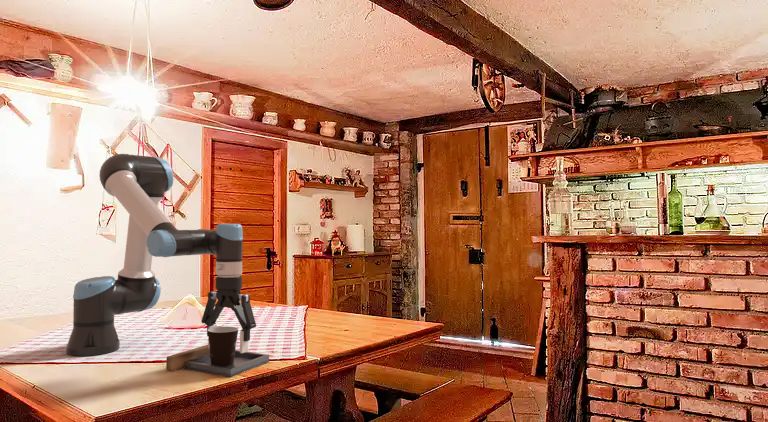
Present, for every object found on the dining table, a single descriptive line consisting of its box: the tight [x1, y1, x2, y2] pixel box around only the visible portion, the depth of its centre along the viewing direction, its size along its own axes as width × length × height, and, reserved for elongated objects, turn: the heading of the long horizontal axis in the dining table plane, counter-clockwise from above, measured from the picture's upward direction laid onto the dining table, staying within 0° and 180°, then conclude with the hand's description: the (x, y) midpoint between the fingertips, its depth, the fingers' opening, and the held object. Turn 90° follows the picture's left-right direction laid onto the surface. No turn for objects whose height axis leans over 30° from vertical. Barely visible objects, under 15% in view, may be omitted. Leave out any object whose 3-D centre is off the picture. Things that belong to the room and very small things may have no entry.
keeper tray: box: [183, 349, 270, 378], centre depth 155 cm, size 17×17×2 cm
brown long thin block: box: [165, 344, 210, 373], centre depth 158 cm, size 2×20×4 cm, turn 155°
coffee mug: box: [207, 326, 239, 367], centre depth 156 cm, size 12×9×10 cm
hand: (227, 349), depth 155 cm, fingers open, 11 cm apart
